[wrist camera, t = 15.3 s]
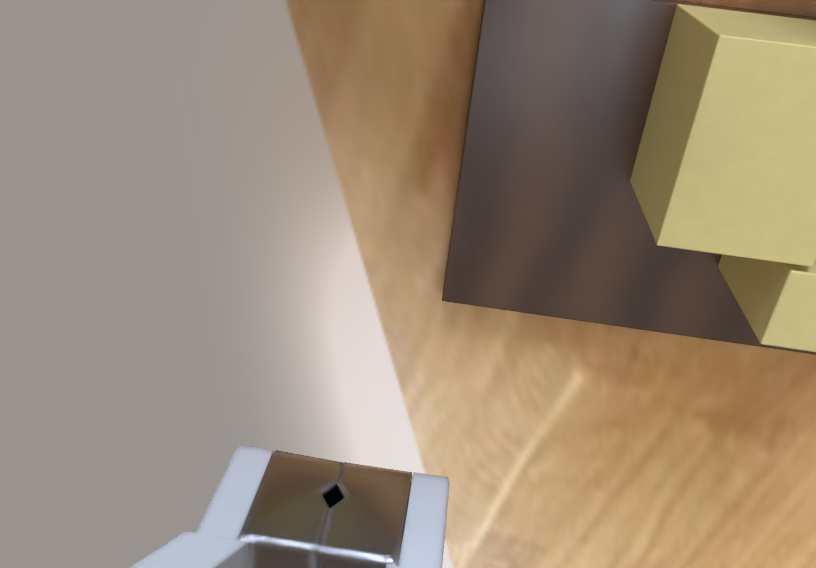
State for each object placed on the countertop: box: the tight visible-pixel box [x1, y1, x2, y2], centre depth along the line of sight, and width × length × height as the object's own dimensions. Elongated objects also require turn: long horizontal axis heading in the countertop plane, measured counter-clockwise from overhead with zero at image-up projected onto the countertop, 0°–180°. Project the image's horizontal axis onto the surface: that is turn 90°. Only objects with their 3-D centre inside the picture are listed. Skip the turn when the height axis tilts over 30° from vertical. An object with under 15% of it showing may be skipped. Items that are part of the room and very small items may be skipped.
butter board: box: [442, 0, 816, 355], centre depth 35 cm, size 22×16×1 cm
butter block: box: [630, 4, 816, 267], centre depth 29 cm, size 6×8×7 cm
